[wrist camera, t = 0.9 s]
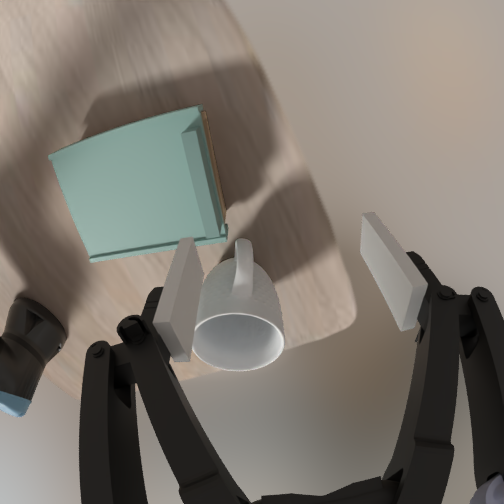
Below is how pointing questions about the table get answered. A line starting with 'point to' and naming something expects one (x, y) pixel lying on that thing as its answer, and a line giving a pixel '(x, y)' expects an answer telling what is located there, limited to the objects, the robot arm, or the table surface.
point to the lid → (142, 186)
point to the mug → (238, 315)
